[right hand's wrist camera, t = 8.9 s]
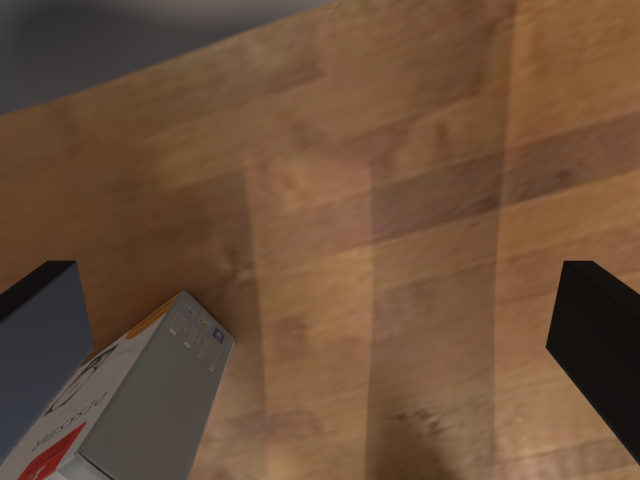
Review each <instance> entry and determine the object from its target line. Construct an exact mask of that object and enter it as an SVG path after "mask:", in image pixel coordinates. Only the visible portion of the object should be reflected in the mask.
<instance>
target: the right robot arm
mask: <svg viewBox="0 0 640 480" xmlns="http://www.w3.org/2000/svg"><path fill="white" fill-rule="evenodd" d="M93 349H94V343H93V339H92V334H91V329H90V325H89V320H88V315H87V310H86V306H85V301H84V296H83V291H82V287H81V282H80V277H79V272H78V268H77V263H76V261H47V262H45V263H44V264H42V265H41V266H40V267H38V268H37V269H35V270H34V271H33V272H31V273H30V274H28V275H27V276H26V277H24V278H23V279H21V280H20V281H19V282H17V283H16V284H15V285H13V286H12V287H10V288H9V289H8V290H6V291H5V292H3V293H2V294H1V295H0V465H1V464H2V463H3V461H4V460H5V459H6V458H7V456H8V455H9V454H10V453H11V451H12V450H13V449H14V448H15V446H16V445H17V444H18V443H19V441H20V440H21V439H22V438H23V436H24V435H25V434H26V433H27V431H28V430H29V429H30V428H31V426H32V425H33V424H34V423H35V421H36V420H37V419H38V418H39V416H40V415H41V414H42V413H43V411H44V410H45V409H46V408H47V406H48V405H49V404H50V403H51V401H52V400H53V399H54V398H55V396H56V395H57V394H58V393H59V391H60V390H61V389H62V388H63V386H64V385H65V384H66V383H67V381H68V380H69V379H70V378H71V376H72V375H73V374H74V373H75V371H76V370H77V369H78V368H79V366H80V365H81V364H82V362H83V361H84V360H85V359H86V357H87V356H88V355H89V354H90V352H91V351H92V350H93ZM546 349H547V350H548V351H549V352H550V354H551V355H552V356H553V357H554V359H555V360H556V361H557V362H558V364H559V365H560V366H561V368H562V369H563V370H564V371H565V373H566V374H567V375H568V376H569V378H570V379H571V380H572V381H573V383H574V384H575V385H576V386H577V388H578V389H579V390H580V391H581V393H582V394H583V395H584V396H585V398H586V399H587V400H588V401H589V403H590V404H591V405H592V406H593V408H594V409H595V410H596V411H597V413H598V414H599V415H600V416H601V418H602V419H603V420H604V421H605V423H606V424H607V425H608V426H609V428H610V429H611V430H612V431H613V433H614V434H615V435H616V436H617V438H618V439H619V440H620V441H621V443H622V444H623V445H624V446H625V448H626V449H627V450H628V451H629V453H630V454H631V455H632V456H633V458H634V459H635V460H636V461H637V463H638V464H639V465H640V295H639V294H638V293H637V292H635V291H634V290H632V289H631V288H630V287H628V286H627V285H625V284H624V283H623V282H621V281H620V280H619V279H617V278H616V277H614V276H613V275H612V274H610V273H609V272H607V271H606V270H605V269H603V268H602V267H600V266H599V265H598V264H596V263H595V262H593V261H564V263H563V268H562V272H561V277H560V282H559V287H558V291H557V296H556V301H555V306H554V310H553V315H552V320H551V325H550V329H549V334H548V339H547V343H546Z"/></svg>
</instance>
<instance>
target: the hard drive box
mask: <svg viewBox="0 0 640 480" xmlns="http://www.w3.org/2000/svg"><path fill="white" fill-rule="evenodd" d="M234 343H235V341H234V338H233V337H232V336H231V335H230V334H229V333H228V332H227V331H226V330H225V329H224V328H223V327H222V326H221V325H220V324H219V323H218V322H217V321H216V320H215V319H214V318H213V317H212V316H211V315H210V314H209V313H208V312H207V311H206V310H205V309H204V308H203V307H202V306H201V305H200V304H199V303H198V302H197V301H196V300H195V299H194V298H193V297H192V296H191V295H190V294H189V293H188V292H187V291H186V290H182V291H181V292H179V293H178V294H176V295H175V296H174V297H172V298H171V299H170V300H168V301H167V302H166V303H165V304H163V305H162V306H160V307H159V308H158V309H156V310H155V311H154V312H153V313H151V314H150V315H149V316H148V317H146V318H145V319H144V320H142V321H141V322H140V323H138V324H137V325H136V326H135V327H133V328H132V329H131V330H129V331H128V332H127V333H125V334H124V335H123V336H121V337H120V338H119V339H117V340H116V341H115V342H113V343H112V344H111V345H110V346H108V347H106V348H105V349H104V350H103V351H102V352H100V353H99V354H98V355H96V356H95V357H94V358H93V359H91V360H90V361H89V362H88V363H86V364H85V365H84V366H82V367H81V368H80V369H79V370H78V371H77V372H76V373H75V375H74V376H73V377H72V378H71V379H70V381H69V382H68V383H67V384H66V386H65V387H64V388H63V389H62V390H61V392H60V393H59V394H58V395H57V397H56V398H55V399H54V400H53V402H52V403H51V404H50V405H49V407H48V408H47V409H46V410H45V412H44V413H43V414H42V415H41V417H40V418H39V419H38V420H37V422H36V423H35V424H34V425H33V426H32V428H31V429H30V430H29V431H28V433H27V434H26V435H25V436H24V438H23V439H22V440H21V441H20V442H19V444H18V445H17V446H16V447H15V449H14V450H13V451H12V452H11V454H10V455H9V456H8V457H7V459H6V460H5V461H4V462H3V464H2V465H1V466H0V480H188V477H189V474H190V471H191V468H192V465H193V462H194V459H195V456H196V453H197V450H198V447H199V445H200V442H201V439H202V436H203V433H204V430H205V427H206V424H207V422H208V419H209V416H210V413H211V410H212V407H213V404H214V401H215V398H216V395H217V393H218V390H219V387H220V384H221V381H222V378H223V375H224V372H225V369H226V367H227V364H228V361H229V358H230V355H231V352H232V349H233V346H234Z"/></svg>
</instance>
